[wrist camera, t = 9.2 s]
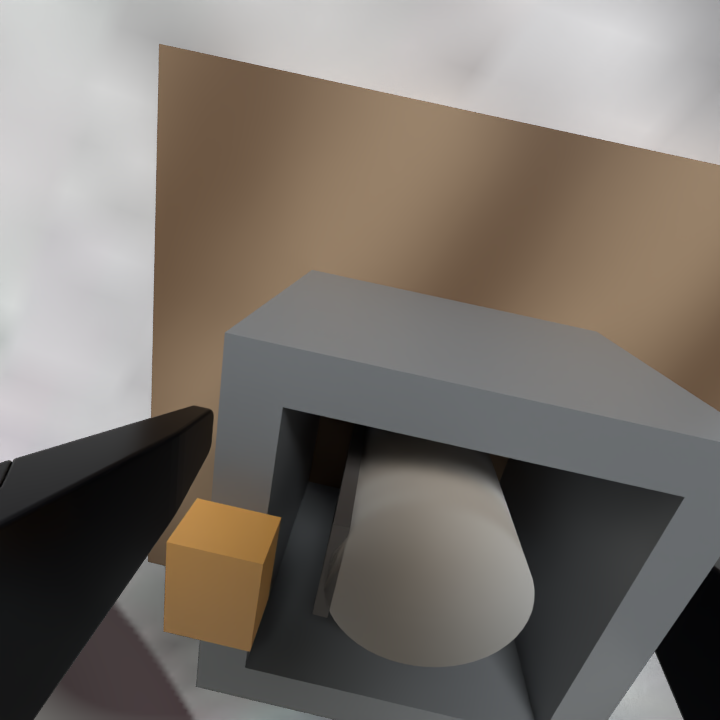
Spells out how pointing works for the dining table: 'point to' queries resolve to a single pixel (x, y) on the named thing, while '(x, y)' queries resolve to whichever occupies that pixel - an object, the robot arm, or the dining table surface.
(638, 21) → the dining table surface
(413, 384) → the hollow square tube
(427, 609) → the flat brown board
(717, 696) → the robot arm
